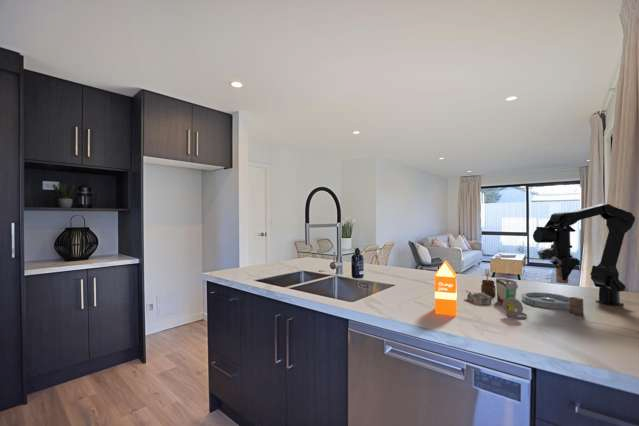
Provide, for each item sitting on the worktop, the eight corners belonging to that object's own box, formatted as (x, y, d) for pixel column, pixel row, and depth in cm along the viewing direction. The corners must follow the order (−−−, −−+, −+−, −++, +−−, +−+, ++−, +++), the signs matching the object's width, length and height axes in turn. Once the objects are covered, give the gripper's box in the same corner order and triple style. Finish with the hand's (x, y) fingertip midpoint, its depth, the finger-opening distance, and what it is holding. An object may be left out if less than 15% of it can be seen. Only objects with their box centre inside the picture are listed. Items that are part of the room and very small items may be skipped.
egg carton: (465, 298, 142) (465, 289, 142) (482, 299, 141) (482, 290, 142) (475, 305, 131) (475, 295, 131) (493, 305, 131) (493, 295, 131)
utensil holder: (482, 296, 144) (481, 270, 144) (480, 293, 150) (480, 268, 150) (496, 297, 142) (496, 271, 142) (494, 294, 148) (493, 269, 148)
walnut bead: (575, 312, 120) (575, 296, 120) (586, 315, 116) (586, 299, 116) (567, 313, 119) (566, 297, 119) (577, 316, 115) (577, 300, 115)
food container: (523, 309, 124) (523, 284, 124) (506, 308, 125) (506, 284, 125) (511, 301, 136) (511, 278, 136) (496, 300, 137) (495, 278, 138)
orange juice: (457, 309, 125) (456, 260, 125) (456, 316, 117) (455, 263, 117) (436, 307, 128) (435, 259, 128) (434, 313, 120) (433, 262, 120)
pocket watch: (524, 314, 118) (523, 288, 118) (531, 321, 110) (530, 293, 110) (499, 312, 121) (499, 286, 121) (504, 319, 113) (504, 291, 113)
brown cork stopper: (566, 281, 132) (565, 267, 132) (569, 283, 129) (569, 269, 129) (554, 281, 134) (554, 267, 134) (558, 283, 130) (558, 268, 130)
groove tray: (547, 296, 144) (547, 291, 144) (587, 307, 125) (587, 301, 125) (512, 298, 140) (512, 293, 140) (548, 310, 122) (548, 304, 122)
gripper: (532, 240, 143) (533, 274, 143) (546, 244, 125) (547, 282, 125) (561, 240, 139) (562, 275, 139) (580, 244, 122) (581, 284, 121)
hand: (562, 279), depth 131 cm, fingers closed on brown cork stopper, 4 cm apart
